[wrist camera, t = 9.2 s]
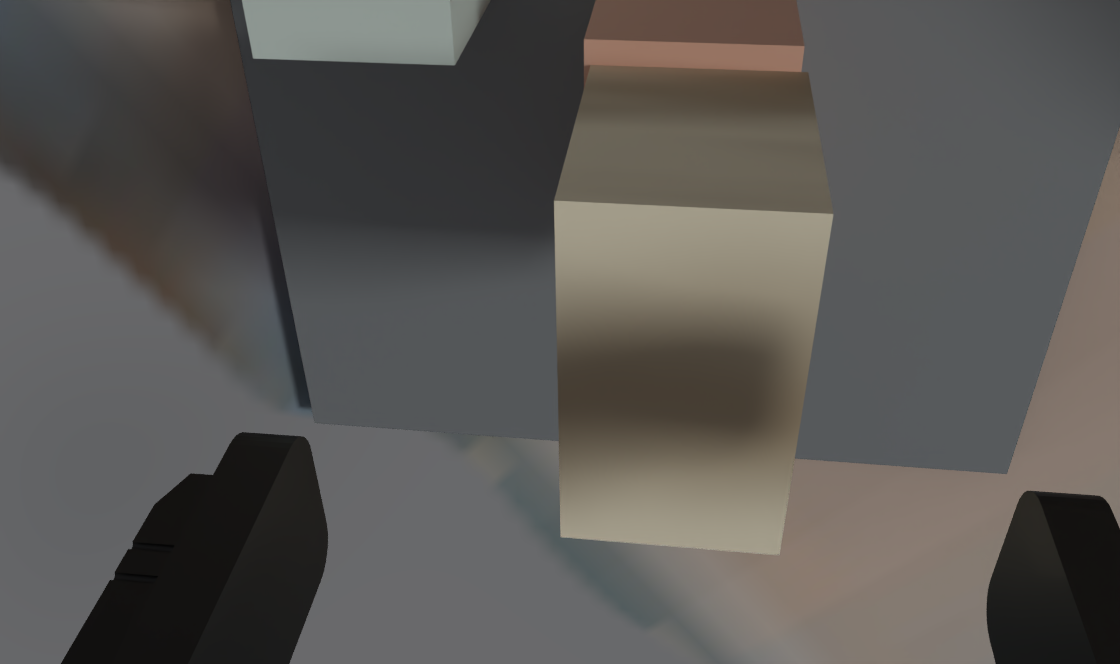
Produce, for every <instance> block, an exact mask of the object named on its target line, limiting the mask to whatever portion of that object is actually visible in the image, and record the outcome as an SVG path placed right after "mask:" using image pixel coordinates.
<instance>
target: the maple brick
mask: <svg viewBox="0 0 1120 664" xmlns="http://www.w3.org/2000/svg"><path fill="white" fill-rule="evenodd" d="M832 220H833V208H832V203H831V197H830V191H829V186H828V180H827V175H826V169H825V163H824V158H823V152H822V147H821V141H820V135H819V130H818V124H817V119H816V113H815V107H814V102H813V96H812V90H811V85H810V79H809V74H808V72H785V71H755V70H725V69H695V68H665V67H634V66H604V65H590V69H589V73H588V76H587V80H586V84H585V87H584V91H583V95H582V99H581V102H580V106H579V110H578V113H577V117H576V121H575V124H574V128H573V132H572V136H571V139H570V143H569V147H568V150H567V154H566V158H565V162H564V165H563V169H562V173H561V176H560V180H559V184H558V188H557V191H556V195H555V199H554V228H555V278H556V327H557V377H558V426H559V476H560V525H561V537H566V538H578V539H590V540H602V541H614V542H626V543H638V544H650V545H662V546H674V547H686V548H698V549H710V550H722V551H734V552H746V553H758V554H770V555H779V554H780V548H781V542H782V535H783V529H784V523H785V516H786V510H787V504H788V497H789V491H790V485H791V479H792V472H793V466H794V460H795V453H796V447H797V441H798V434H799V428H800V422H801V416H802V409H803V403H804V397H805V390H806V384H807V378H808V372H809V365H810V359H811V353H812V346H813V340H814V334H815V328H816V321H817V315H818V309H819V302H820V296H821V290H822V283H823V277H824V271H825V265H826V258H827V252H828V246H829V239H830V233H831V227H832Z"/></svg>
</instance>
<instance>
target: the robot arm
mask: <svg viewBox="0 0 1120 664" xmlns="http://www.w3.org/2000/svg"><path fill="white" fill-rule="evenodd" d="M327 548H328V531H327V523H326V518H325V513H324V509H323V504H322V499H321V495H320V489H319V485H318V480H317V476H316V471H315V466H314V461H313V456H312V452H311V448H310V445H309V442H308V441H307V439H306V438H305V437H301V436H288V435H274V434H260V433H246V432H245V433H244V432H242V433H239V434H238V435H236V436H235V438H234V439H233V440H232V442H231V443H230V445H229V447H228V449H227V450H226V452H225V454H224V456H223V458H222V460H221V461H220V463H219V465H218V467H217V469H216V471H215V473H214V474H213V475H204V474H190V475H188V476H187V477H186V478H185V479H184V480H183V481H182V482H180V483H179V484H178V485H177V486H176V487H174V488H173V489H172V490H171V491H170V492H169V493H168V494H167V495H165V496H164V497H163V498H162V499H160V500H159V501H158V502H157V503H156V504H155V505H154V506H153V508H152V510H151V511H150V513H149V515H148V517H147V518H146V520H145V522H144V523H143V525H142V527H141V529H140V530H139V532H138V534H137V535H136V537H135V539H134V540H133V547H132V549H128V550H127V552H126V554H125V556H124V557H123V559H122V561H121V563H120V564H119V566H118V568H117V569H116V571H115V578H114V580H110V581H109V583H108V584H107V586H106V588H105V590H104V591H103V593H102V595H101V596H100V598H99V600H98V601H97V603H96V605H95V607H94V609H93V610H92V612H91V613H90V615H89V617H88V619H87V620H86V622H85V623H84V625H83V627H82V629H81V630H80V632H79V634H78V635H77V637H76V639H75V641H74V642H73V644H72V646H71V647H70V649H69V651H68V652H67V654H66V656H65V657H64V659H63V661H62V663H61V664H289V663H290V660H291V658H292V655H293V652H294V650H295V647H296V644H297V642H298V639H299V636H300V634H301V631H302V629H303V626H304V624H305V621H306V618H307V616H308V613H309V610H310V608H311V605H312V603H313V600H314V597H315V594H316V592H317V589H318V587H319V584H320V582H321V578H322V576H323V572H324V568H325V563H326V556H327ZM987 626H988V633H989V638H990V643H991V647H992V650H993V654H994V658H995V662H996V664H1120V528H1119V526H1118V524H1117V521H1116V519H1115V517H1114V514H1113V512H1112V510H1111V508H1110V506H1109V504H1108V503H1107V501H1106V500H1105V499H1104V498H1103V497H1101V496H1095V495H1081V494H1067V493H1053V492H1039V491H1026V492H1025V493H1024V494H1023V495H1022V496H1021V498H1020V499H1019V502H1018V504H1017V507H1016V510H1015V512H1014V515H1013V518H1012V521H1011V524H1010V526H1009V529H1008V532H1007V535H1006V538H1005V541H1004V543H1003V546H1002V549H1001V552H1000V555H999V557H998V560H997V563H996V566H995V569H994V572H993V574H992V577H991V580H990V584H989V589H988V595H987Z"/></svg>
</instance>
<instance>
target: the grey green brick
mask: <svg viewBox="0 0 1120 664" xmlns="http://www.w3.org/2000/svg"><path fill="white" fill-rule="evenodd" d="M490 1H491V0H242V3H243V9H244V14H245V19H246V24H247V29H248V35H249V40H250V45H251V50H252V55H253V59H281V60H311V61H340V62H369V63H398V64H427V65H455V64H456V62H457V61H458V59H459V57H460V55H461V53H462V51H463V50H464V48H465V46H466V44H467V42H468V41H469V39H470V37H471V35H472V33H473V31H474V30H475V28H476V26H477V24H478V22H479V21H480V19H481V17H482V15H483V13H484V12H485V10H486V8H487V6H488V4H489V2H490Z"/></svg>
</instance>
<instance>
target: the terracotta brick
mask: <svg viewBox="0 0 1120 664" xmlns="http://www.w3.org/2000/svg"><path fill="white" fill-rule="evenodd" d="M804 47H805V45H804V40H803V34H802V29H801V23H800V18H799V12H798V7H797V1H796V0H596V1H595V4H594V7H593V11H592V14H591V17H590V21H589V24H588V27H587V31H586V34H585V37H584V87H585V84H586V80H587V76H588V73H589V69H590V65H604V66H634V67H665V68H695V69H725V70H755V71H785V72H801V71H802V63H803V55H804Z"/></svg>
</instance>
